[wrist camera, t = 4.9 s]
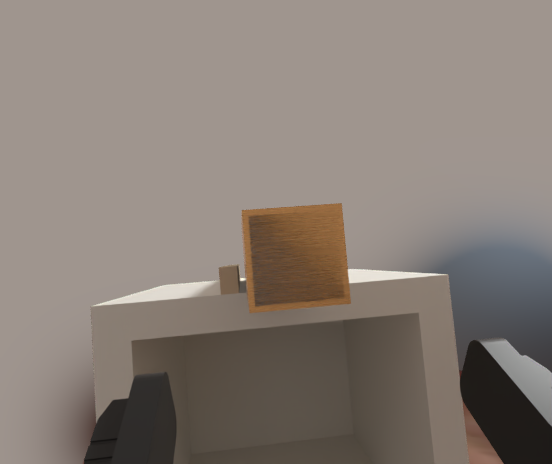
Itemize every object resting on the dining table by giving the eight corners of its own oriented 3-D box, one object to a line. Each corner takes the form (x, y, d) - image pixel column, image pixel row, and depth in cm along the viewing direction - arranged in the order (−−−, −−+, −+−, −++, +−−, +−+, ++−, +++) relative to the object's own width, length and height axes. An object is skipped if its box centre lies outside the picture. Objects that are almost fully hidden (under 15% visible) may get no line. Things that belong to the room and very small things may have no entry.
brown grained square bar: (280, 277, 37) (277, 241, 37) (351, 303, 13) (341, 203, 14) (244, 280, 37) (241, 243, 37) (249, 313, 13) (241, 210, 13)
